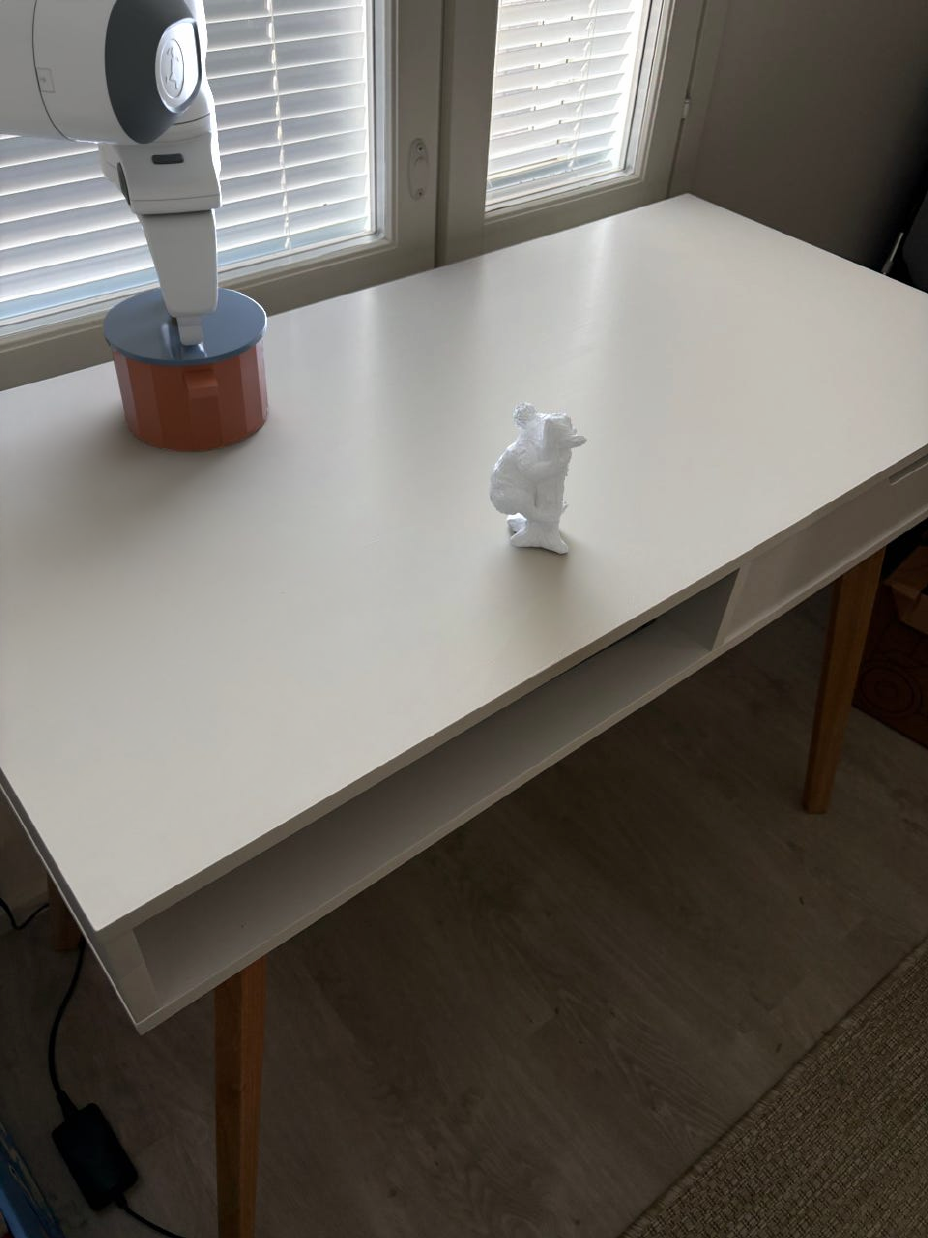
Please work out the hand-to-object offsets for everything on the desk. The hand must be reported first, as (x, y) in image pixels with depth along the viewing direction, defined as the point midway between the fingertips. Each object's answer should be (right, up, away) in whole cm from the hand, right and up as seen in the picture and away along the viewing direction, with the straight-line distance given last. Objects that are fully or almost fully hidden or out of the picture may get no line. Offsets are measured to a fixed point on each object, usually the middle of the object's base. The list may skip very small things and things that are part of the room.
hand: (183, 317), depth 86 cm
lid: (0, -1, +1) cm, 1 cm away
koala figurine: (+30, -19, -4) cm, 35 cm away
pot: (-1, -7, +6) cm, 9 cm away
